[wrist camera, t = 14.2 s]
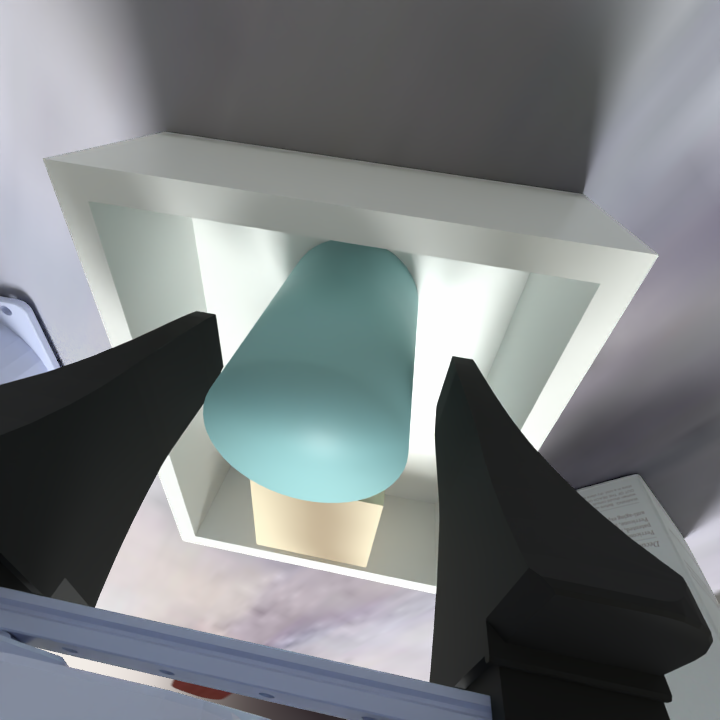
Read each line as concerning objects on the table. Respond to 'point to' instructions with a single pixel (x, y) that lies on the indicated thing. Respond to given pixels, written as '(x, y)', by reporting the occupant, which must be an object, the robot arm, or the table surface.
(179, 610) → the table surface
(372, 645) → the table surface
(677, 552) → the supplement box
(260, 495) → the maple cube
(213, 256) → the tote
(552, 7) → the table surface
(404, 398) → the teal cylinder
